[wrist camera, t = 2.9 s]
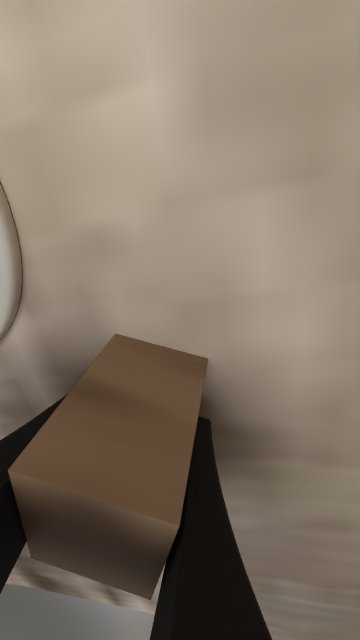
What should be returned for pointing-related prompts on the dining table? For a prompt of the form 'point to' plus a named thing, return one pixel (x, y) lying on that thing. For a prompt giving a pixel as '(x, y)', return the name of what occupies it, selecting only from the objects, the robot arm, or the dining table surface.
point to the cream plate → (8, 267)
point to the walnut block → (113, 466)
